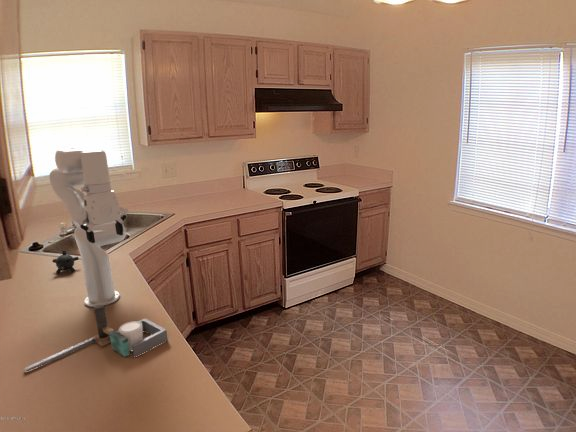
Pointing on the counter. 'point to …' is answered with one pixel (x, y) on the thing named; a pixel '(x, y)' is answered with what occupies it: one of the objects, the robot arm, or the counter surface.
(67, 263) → the dark lidded pot
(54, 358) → the rail
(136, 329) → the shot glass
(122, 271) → the counter surface
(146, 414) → the counter surface
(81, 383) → the counter surface
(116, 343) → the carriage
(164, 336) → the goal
